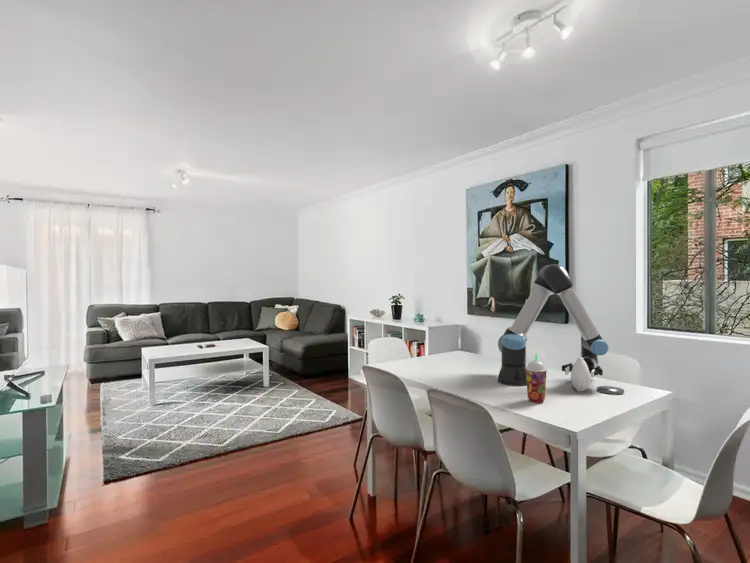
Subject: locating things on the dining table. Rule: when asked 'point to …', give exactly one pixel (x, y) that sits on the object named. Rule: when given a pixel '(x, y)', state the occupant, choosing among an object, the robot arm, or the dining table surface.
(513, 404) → the dining table surface
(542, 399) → the smoothie
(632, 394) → the dining table surface
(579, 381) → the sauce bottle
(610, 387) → the hub disc
